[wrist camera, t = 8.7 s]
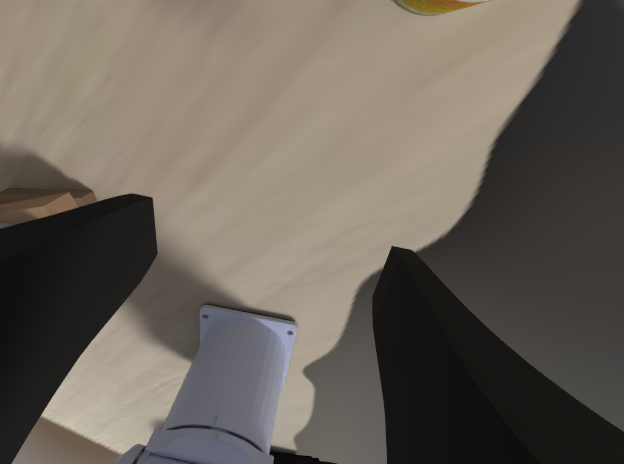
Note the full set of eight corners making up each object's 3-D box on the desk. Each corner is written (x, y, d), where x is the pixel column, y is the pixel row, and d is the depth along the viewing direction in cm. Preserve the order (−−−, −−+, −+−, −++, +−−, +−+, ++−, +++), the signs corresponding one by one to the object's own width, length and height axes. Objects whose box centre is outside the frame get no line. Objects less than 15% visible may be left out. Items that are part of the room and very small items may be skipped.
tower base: (127, 256, 25) (111, 272, 23) (55, 253, 25) (34, 268, 24) (101, 186, 22) (81, 198, 20) (20, 183, 22) (-7, 194, 21)
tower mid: (117, 267, 23) (98, 285, 21) (48, 276, 24) (25, 294, 22) (69, 192, 20) (43, 206, 18) (-7, 206, 21) (-38, 220, 19)
